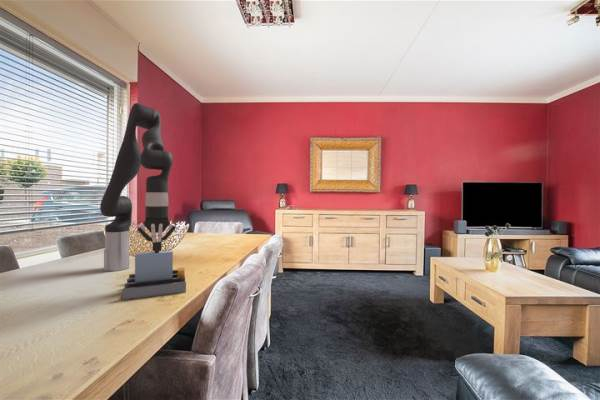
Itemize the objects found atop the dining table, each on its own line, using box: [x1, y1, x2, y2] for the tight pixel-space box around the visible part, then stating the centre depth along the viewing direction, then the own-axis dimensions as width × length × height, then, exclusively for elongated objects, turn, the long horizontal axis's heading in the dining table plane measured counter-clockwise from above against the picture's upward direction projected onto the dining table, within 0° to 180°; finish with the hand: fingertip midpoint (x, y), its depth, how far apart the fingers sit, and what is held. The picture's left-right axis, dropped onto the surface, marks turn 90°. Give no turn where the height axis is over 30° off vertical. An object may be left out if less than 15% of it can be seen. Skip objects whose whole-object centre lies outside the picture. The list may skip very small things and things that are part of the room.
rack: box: [121, 267, 187, 302], centre depth 100 cm, size 19×18×6 cm
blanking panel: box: [134, 250, 174, 282], centre depth 100 cm, size 12×3×12 cm, turn 116°
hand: (157, 252), depth 100 cm, fingers closed
